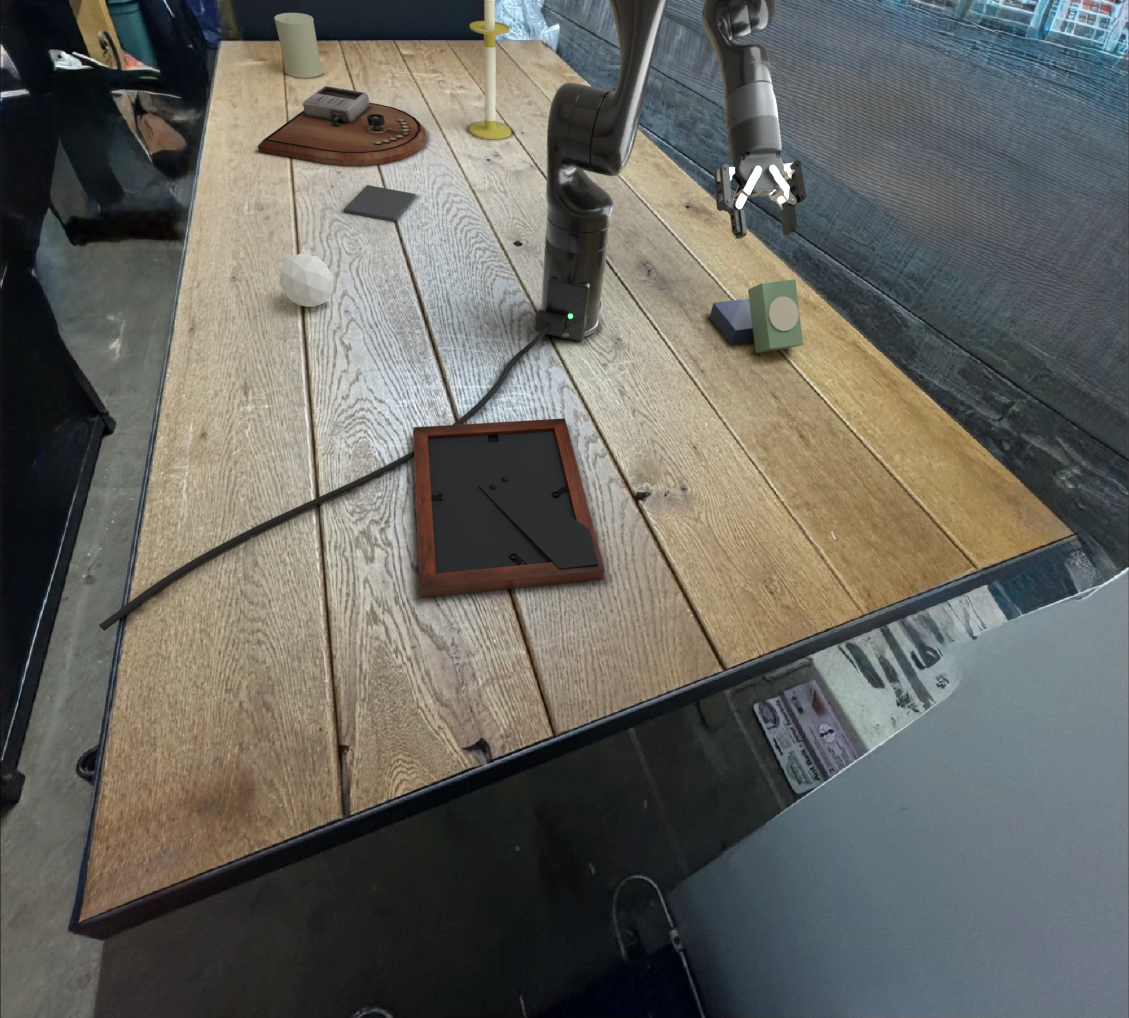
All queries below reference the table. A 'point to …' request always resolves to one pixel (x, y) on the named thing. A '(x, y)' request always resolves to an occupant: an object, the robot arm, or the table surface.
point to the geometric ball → (306, 280)
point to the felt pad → (380, 203)
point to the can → (298, 45)
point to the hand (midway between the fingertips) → (765, 235)
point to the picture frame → (501, 508)
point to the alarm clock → (775, 316)
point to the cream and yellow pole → (490, 75)
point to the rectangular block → (733, 320)
